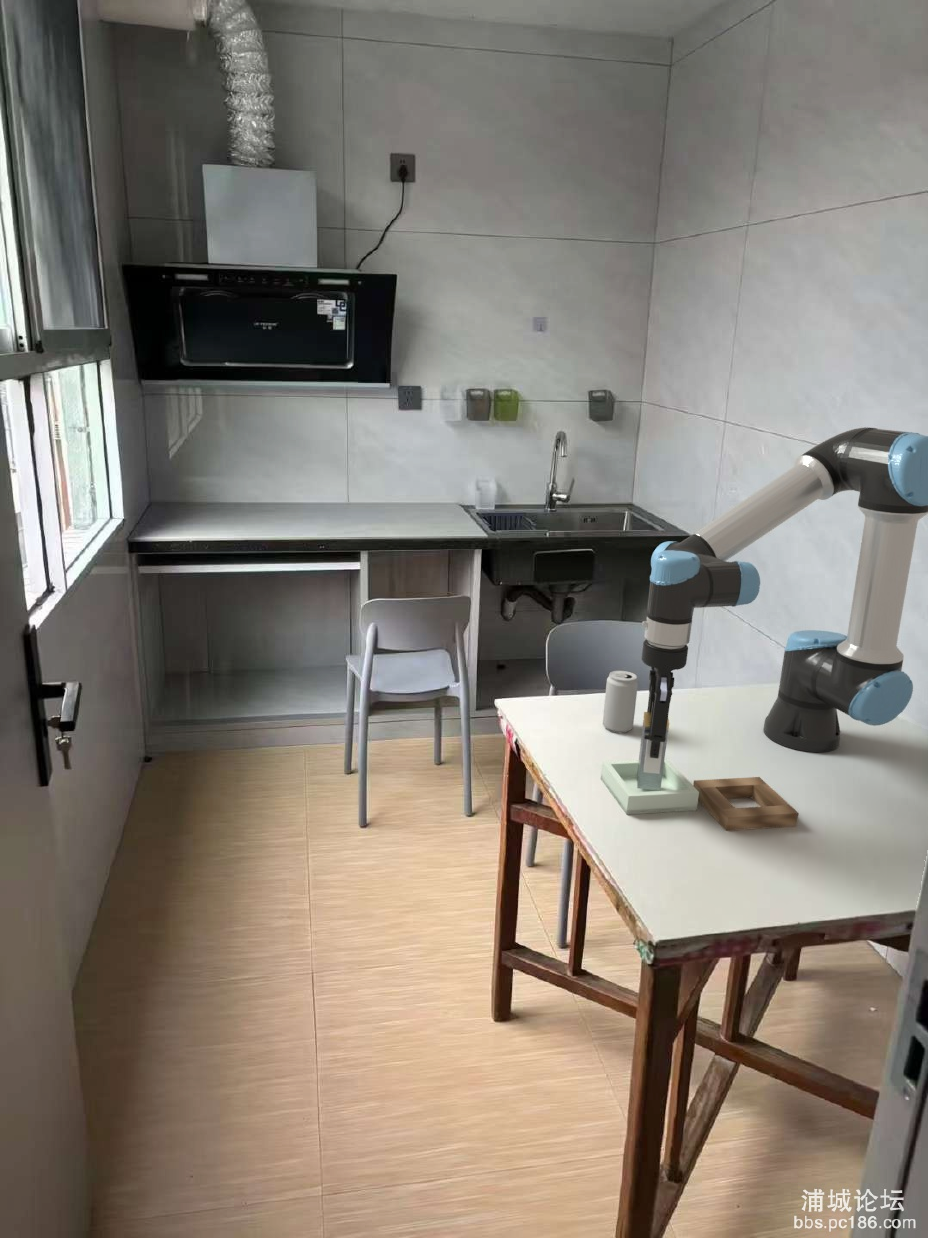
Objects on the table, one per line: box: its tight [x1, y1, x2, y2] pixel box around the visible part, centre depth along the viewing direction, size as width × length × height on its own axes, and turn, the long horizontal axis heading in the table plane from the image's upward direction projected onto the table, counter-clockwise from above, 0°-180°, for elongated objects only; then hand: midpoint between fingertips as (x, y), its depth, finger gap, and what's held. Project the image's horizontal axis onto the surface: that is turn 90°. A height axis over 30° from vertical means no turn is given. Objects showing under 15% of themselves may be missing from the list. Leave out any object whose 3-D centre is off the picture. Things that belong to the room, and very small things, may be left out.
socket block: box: [692, 776, 799, 832], centre depth 152 cm, size 13×13×2 cm
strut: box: [637, 711, 670, 791], centre depth 154 cm, size 4×4×13 cm
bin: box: [600, 758, 699, 815], centre depth 156 cm, size 13×13×4 cm
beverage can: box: [602, 670, 639, 734], centre depth 181 cm, size 6×6×12 cm
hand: (650, 765), depth 154 cm, fingers closed on strut, 4 cm apart
